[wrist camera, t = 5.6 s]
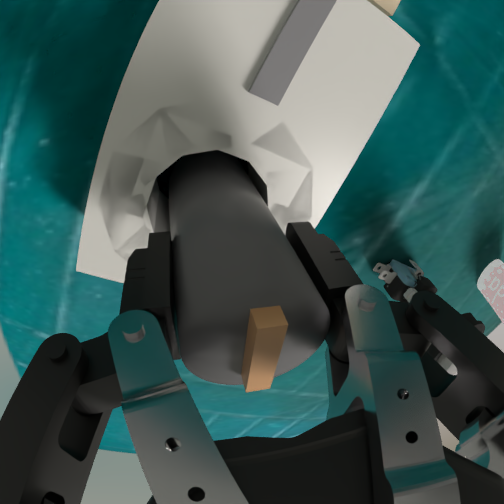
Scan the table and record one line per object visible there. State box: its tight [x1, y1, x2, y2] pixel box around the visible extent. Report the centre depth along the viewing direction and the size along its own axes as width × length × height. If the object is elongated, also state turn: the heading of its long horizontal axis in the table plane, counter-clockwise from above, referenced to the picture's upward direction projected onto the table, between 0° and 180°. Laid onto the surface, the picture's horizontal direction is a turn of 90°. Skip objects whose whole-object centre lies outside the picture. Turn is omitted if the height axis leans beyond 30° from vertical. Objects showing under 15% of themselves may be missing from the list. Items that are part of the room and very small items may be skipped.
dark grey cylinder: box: [169, 150, 330, 392], centre depth 11 cm, size 4×4×11 cm
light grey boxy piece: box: [76, 0, 420, 283], centre depth 13 cm, size 16×10×5 cm, turn 154°
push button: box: [373, 259, 485, 375], centre depth 21 cm, size 7×5×10 cm
